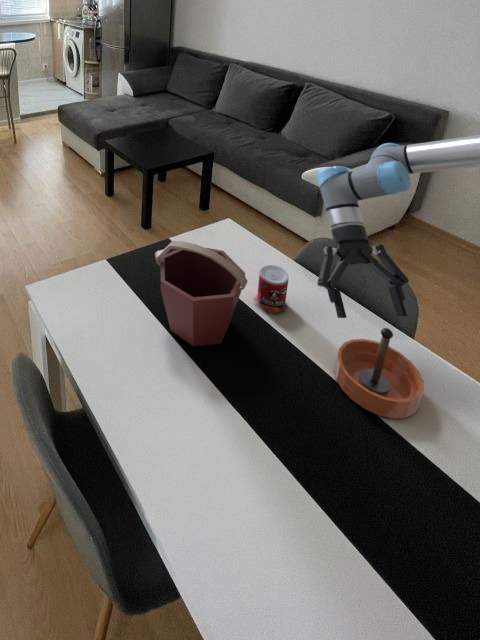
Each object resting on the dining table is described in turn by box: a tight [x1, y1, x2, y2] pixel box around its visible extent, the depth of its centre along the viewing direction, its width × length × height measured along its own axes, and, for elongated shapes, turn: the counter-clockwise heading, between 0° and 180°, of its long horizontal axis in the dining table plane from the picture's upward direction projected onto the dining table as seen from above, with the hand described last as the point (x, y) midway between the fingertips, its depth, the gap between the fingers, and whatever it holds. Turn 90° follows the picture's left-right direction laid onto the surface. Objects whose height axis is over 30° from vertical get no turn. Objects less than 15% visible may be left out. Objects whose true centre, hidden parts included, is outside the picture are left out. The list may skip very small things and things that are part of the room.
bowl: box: [334, 338, 425, 419], centre depth 100 cm, size 16×16×6 cm
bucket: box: [154, 240, 248, 347], centre depth 118 cm, size 24×22×25 cm
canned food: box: [256, 264, 290, 314], centre depth 125 cm, size 8×8×11 cm
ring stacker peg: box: [359, 327, 394, 396], centre depth 98 cm, size 6×6×17 cm
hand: (372, 317), depth 100 cm, fingers open, 13 cm apart
